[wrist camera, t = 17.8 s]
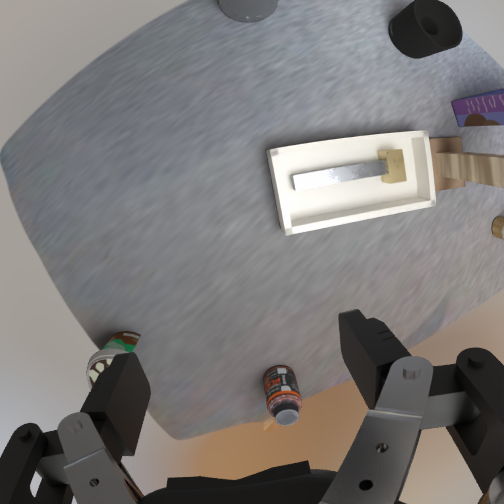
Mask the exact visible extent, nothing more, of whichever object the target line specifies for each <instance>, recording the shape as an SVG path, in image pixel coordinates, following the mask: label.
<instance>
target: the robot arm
mask: <svg viewBox="0 0 504 504" xmlns="http://www.w3.org/2000/svg"><path fill="white" fill-rule="evenodd" d="M277 3H278V0H219V6H220V8H221V10H222V11H223V12H224V13H225V14H226V15H227V16H228V17H230V18H232V19H234V20H237V21H240V22H257V21H260V20H263V19H265V18H267V17H269V16H270V15H271V14H272V13H273V12H274V10H275V9H276V6H277ZM339 331H340V344H341V352H342V356H343V359H344V362H345V364H346V366H347V368H348V370H349V371H350V373H351V375H352V377H353V379H354V381H355V383H356V385H357V387H358V389H359V391H360V393H361V395H362V396H363V398H364V400H365V402H366V404H367V406H368V408H369V411H368V412H367V414H366V416H365V418H364V421H363V423H362V425H361V427H360V429H359V431H358V433H357V435H356V438H355V440H354V442H353V444H352V446H351V448H350V450H349V451H348V453H347V455H346V457H345V459H344V461H343V463H342V465H341V467H340V469H339V470H338V472H335V471H329V470H320V469H319V470H318V469H310V466H309V462H308V460H307V461H303V462H298V463H293V464H288V465H283V466H278V467H273V468H270V469H267V470H264V471H262V472H259V473H256V474H253V475H250V476H247V477H244V478H242V479H238V480H227V479H218V478H210V477H202V476H197V477H178V478H177V477H176V478H168V480H167V487H166V488H162V489H159V490H156V491H154V492H152V493H149V494H148V495H146V496H144V495H143V494H142V492H141V491H140V489H139V488H138V486H137V485H136V483H135V482H134V480H133V479H132V477H131V476H130V474H129V473H128V471H127V469H126V468H125V466H124V465H123V464H122V462H121V459H122V456H134V454H135V450H136V446H137V443H138V439H139V435H140V432H141V428H142V424H143V421H144V416H145V413H146V410H147V406H148V403H149V399H150V395H151V391H150V385H149V382H148V380H147V378H146V375H145V373H144V371H143V369H142V367H141V364H140V362H139V360H138V357H137V356H136V354H135V353H134V352H129V353H121V354H116V355H115V356H114V358H113V360H112V362H111V364H110V366H109V367H106V368H105V369H104V370H103V371H102V372H101V373H100V374H99V375H98V377H97V379H96V381H95V383H94V385H93V386H92V388H91V392H89V395H88V397H87V398H86V400H85V402H84V404H83V406H82V408H81V410H80V412H77V413H73V414H70V415H68V416H67V417H65V418H64V419H63V420H62V421H61V422H60V423H59V426H58V429H57V430H54V431H49V432H45V433H43V432H42V430H41V429H40V428H39V426H38V425H37V424H34V423H27V424H24V425H22V426H20V427H19V428H17V430H15V431H14V433H13V435H12V436H11V438H10V440H9V442H8V444H7V446H6V447H5V449H4V451H3V453H2V455H1V457H0V504H71V503H72V499H73V496H74V497H75V499H76V501H77V504H406V503H403V502H401V501H399V498H400V495H401V493H402V490H403V487H404V485H405V482H406V479H407V476H408V473H409V470H410V467H411V464H412V461H413V458H414V455H415V451H416V448H417V445H418V441H419V438H420V434H421V431H422V430H423V429H431V428H438V427H444V426H445V427H446V429H447V430H448V432H449V434H450V435H451V437H452V439H453V441H454V442H455V444H456V446H457V447H458V449H459V451H460V453H461V454H462V456H463V458H464V460H465V461H466V463H467V465H468V467H469V469H470V470H471V472H472V474H473V476H474V478H475V479H476V482H477V483H478V485H479V487H480V489H481V491H482V493H483V495H482V497H481V498H480V500H479V502H478V504H504V365H503V364H502V363H501V362H500V361H499V360H498V359H497V358H496V357H495V356H494V355H493V354H492V353H491V352H489V351H488V350H486V349H482V348H468V349H465V350H463V351H462V352H461V353H460V354H459V355H458V356H457V360H456V364H450V365H443V366H432V364H431V363H430V362H429V361H428V360H427V359H425V358H422V357H418V356H412V355H411V354H410V353H409V352H408V351H407V349H406V348H405V347H404V346H403V345H402V343H401V342H400V341H399V340H398V339H397V337H395V335H394V334H393V333H392V332H391V331H390V329H389V328H388V327H387V326H386V325H385V323H384V322H382V321H380V320H378V319H375V318H370V319H366V318H365V317H364V315H363V314H362V313H361V312H360V310H359V309H354V310H351V311H347V312H343V313H339ZM35 471H36V472H37V473H38V474H39V475H40V476H41V477H42V480H41V483H40V485H39V488H38V491H37V494H36V497H34V496H33V495H32V493H31V490H30V484H31V481H32V478H33V476H34V473H35Z"/></svg>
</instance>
